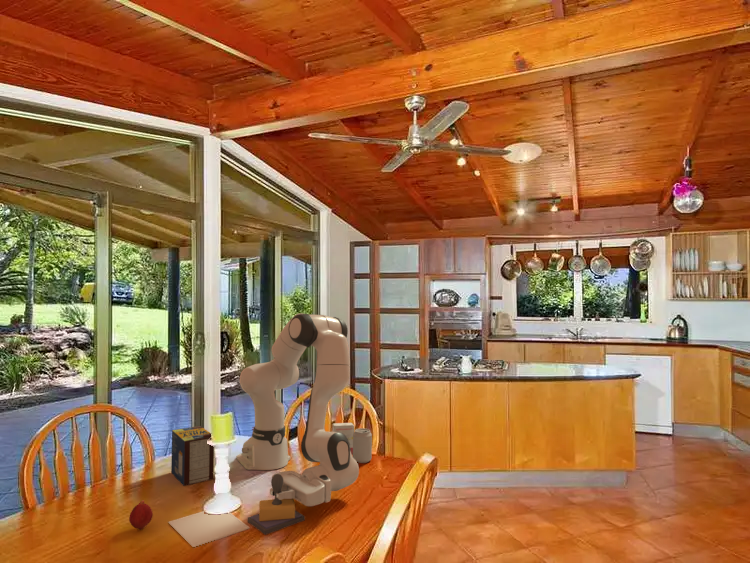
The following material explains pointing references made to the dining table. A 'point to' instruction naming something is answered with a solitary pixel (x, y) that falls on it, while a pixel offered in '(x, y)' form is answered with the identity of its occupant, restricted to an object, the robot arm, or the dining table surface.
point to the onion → (141, 515)
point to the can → (362, 445)
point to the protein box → (192, 455)
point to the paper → (207, 527)
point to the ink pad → (274, 523)
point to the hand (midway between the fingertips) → (274, 494)
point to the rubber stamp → (276, 504)
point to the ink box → (345, 432)
